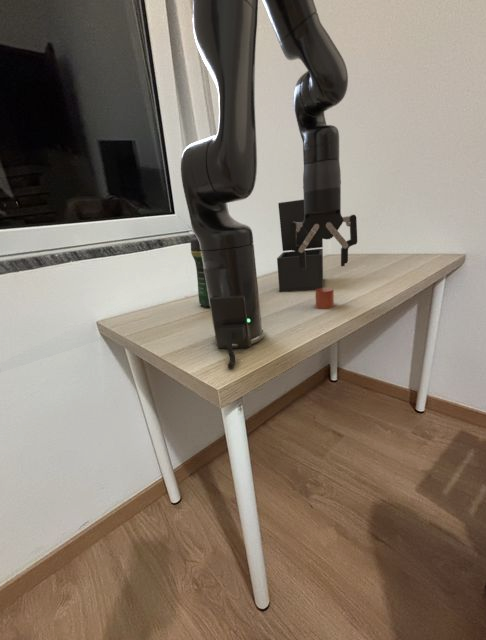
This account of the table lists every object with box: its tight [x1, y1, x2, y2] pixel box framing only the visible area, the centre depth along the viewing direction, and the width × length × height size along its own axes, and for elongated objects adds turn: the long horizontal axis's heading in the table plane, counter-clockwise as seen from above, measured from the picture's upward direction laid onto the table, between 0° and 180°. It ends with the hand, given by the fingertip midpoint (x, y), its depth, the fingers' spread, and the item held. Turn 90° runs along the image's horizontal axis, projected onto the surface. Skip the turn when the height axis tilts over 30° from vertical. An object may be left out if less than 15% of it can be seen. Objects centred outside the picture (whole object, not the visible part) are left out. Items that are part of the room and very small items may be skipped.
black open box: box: [276, 248, 324, 293], centre depth 94 cm, size 14×13×10 cm
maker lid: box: [277, 198, 324, 252], centre depth 96 cm, size 14×13×5 cm
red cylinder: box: [314, 287, 335, 310], centre depth 73 cm, size 4×4×4 cm
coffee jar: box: [190, 236, 210, 308], centre depth 85 cm, size 10×8×19 cm
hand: (323, 267), depth 70 cm, fingers open, 8 cm apart
